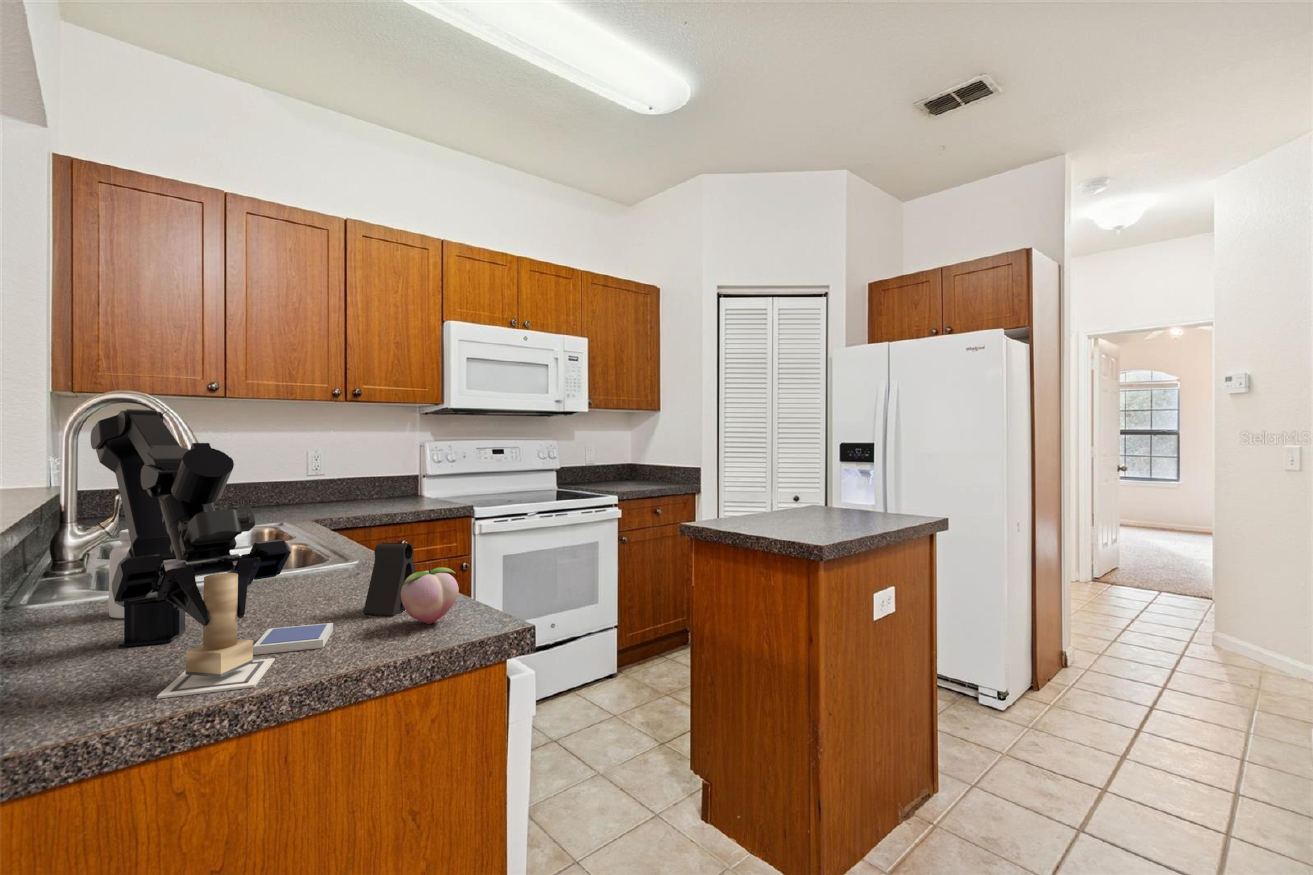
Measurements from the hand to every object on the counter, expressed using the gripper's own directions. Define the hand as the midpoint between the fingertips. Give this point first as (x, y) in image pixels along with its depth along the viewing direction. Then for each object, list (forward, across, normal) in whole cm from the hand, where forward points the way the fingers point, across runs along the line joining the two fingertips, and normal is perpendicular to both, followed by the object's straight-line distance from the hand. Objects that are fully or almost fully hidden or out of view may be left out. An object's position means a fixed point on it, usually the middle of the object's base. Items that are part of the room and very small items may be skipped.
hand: (224, 620), depth 78 cm
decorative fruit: (+5, +30, +6) cm, 31 cm away
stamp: (+4, 0, +6) cm, 7 cm away
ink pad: (-1, +12, +12) cm, 17 cm away
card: (+4, 0, +6) cm, 8 cm away
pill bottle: (-29, +3, +40) cm, 49 cm away
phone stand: (-4, +31, +16) cm, 35 cm away
